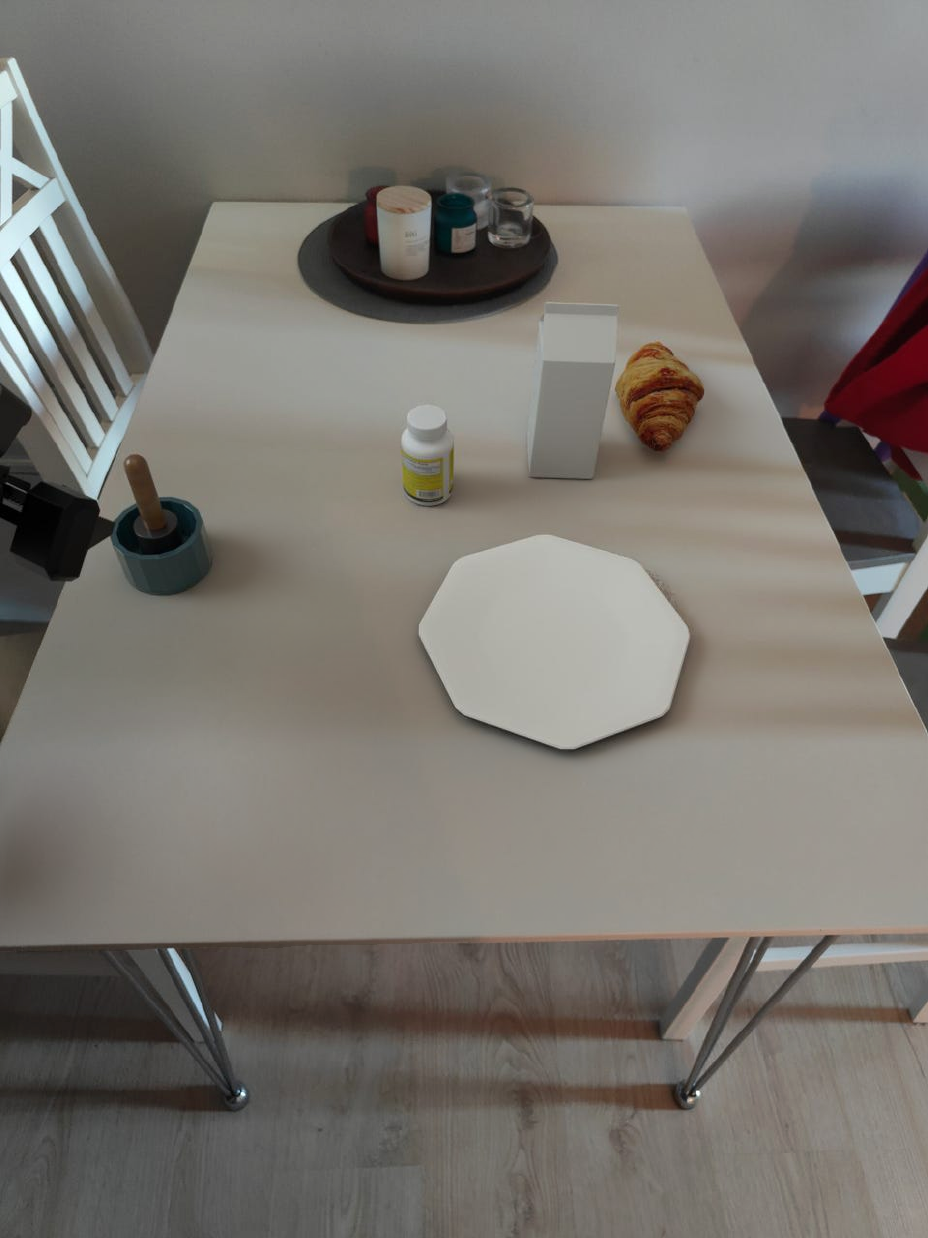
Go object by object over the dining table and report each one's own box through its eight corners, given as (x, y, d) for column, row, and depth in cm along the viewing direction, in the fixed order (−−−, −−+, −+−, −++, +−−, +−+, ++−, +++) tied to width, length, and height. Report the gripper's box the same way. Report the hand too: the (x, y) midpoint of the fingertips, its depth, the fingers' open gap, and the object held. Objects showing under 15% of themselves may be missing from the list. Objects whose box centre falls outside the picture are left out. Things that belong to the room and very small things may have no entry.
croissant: (624, 378, 112) (604, 327, 107) (700, 352, 108) (684, 298, 103) (629, 483, 98) (606, 430, 93) (717, 457, 95) (698, 400, 89)
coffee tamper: (170, 580, 82) (134, 477, 72) (138, 565, 83) (98, 461, 73) (197, 554, 84) (166, 451, 74) (165, 540, 86) (131, 436, 76)
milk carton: (592, 480, 94) (623, 325, 80) (528, 478, 94) (547, 322, 79) (587, 439, 99) (615, 285, 84) (526, 437, 99) (543, 283, 84)
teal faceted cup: (117, 596, 81) (101, 560, 77) (133, 534, 87) (119, 497, 83) (206, 594, 82) (195, 558, 78) (217, 532, 87) (207, 495, 83)
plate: (390, 587, 83) (390, 576, 82) (601, 525, 90) (604, 514, 88) (490, 787, 70) (491, 779, 68) (730, 697, 76) (735, 688, 75)
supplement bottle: (429, 467, 95) (429, 393, 87) (463, 491, 92) (466, 417, 85) (392, 489, 92) (389, 415, 85) (426, 514, 90) (426, 441, 82)
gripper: (28, 410, 51) (190, 452, 66) (-178, 321, 56) (14, 378, 71) (-23, 583, 53) (146, 585, 68) (-219, 480, 58) (-23, 503, 73)
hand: (69, 507), depth 70 cm, fingers open, 9 cm apart
